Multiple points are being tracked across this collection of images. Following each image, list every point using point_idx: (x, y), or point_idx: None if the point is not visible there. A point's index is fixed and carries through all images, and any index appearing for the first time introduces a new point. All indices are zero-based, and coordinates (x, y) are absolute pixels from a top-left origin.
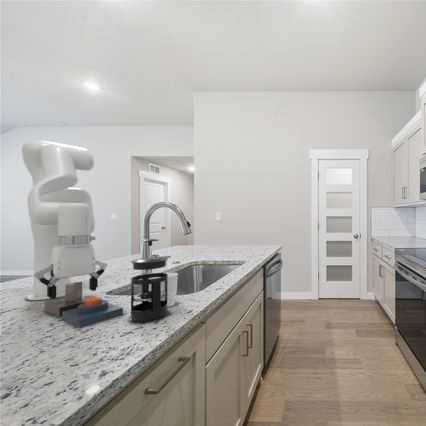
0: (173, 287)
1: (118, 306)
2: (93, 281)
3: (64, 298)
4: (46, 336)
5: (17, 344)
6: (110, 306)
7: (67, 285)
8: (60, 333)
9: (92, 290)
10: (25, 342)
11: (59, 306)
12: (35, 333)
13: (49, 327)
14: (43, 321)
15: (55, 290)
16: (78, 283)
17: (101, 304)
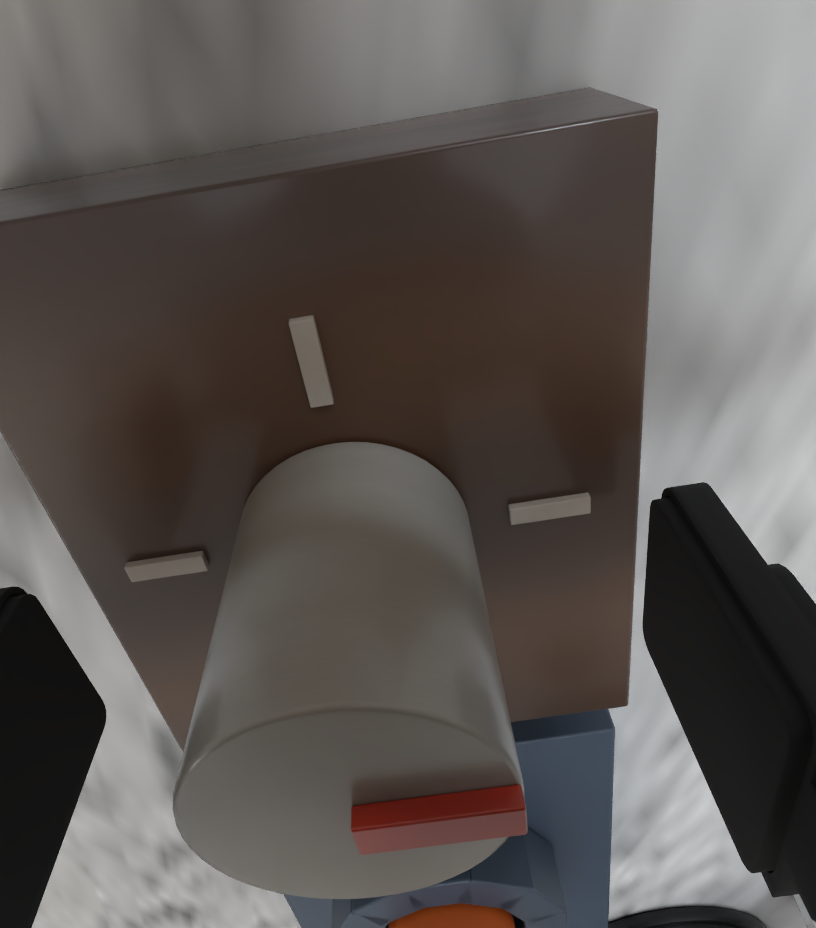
0: None
1: (607, 903)
2: (728, 828)
3: (232, 316)
4: (167, 909)
5: (43, 920)
6: (570, 876)
7: (221, 862)
8: (233, 911)
9: (643, 614)
10: (76, 919)
11: (187, 722)
12: (96, 846)
13: (164, 806)
14: (92, 657)
15: (41, 875)
16: (438, 835)
17: None
